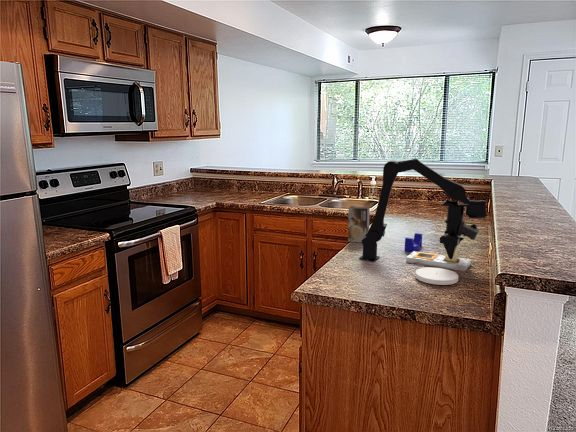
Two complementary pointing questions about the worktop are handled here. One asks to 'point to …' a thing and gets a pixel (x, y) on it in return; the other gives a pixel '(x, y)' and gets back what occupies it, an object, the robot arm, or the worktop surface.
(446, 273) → the plastic lid
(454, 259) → the beige rectangular block
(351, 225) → the coffee box
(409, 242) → the blue curved block
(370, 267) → the worktop surface
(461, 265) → the grey plate with holes
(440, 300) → the worktop surface
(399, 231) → the worktop surface
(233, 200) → the worktop surface
